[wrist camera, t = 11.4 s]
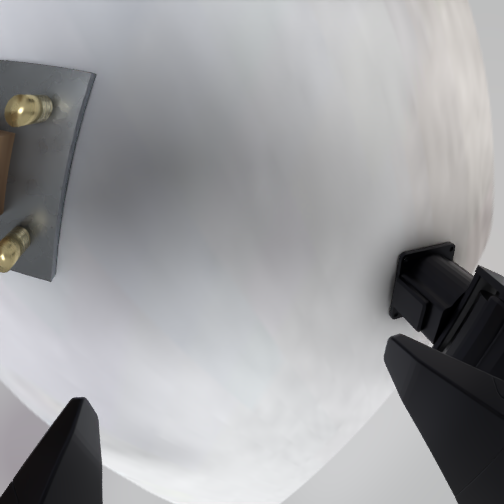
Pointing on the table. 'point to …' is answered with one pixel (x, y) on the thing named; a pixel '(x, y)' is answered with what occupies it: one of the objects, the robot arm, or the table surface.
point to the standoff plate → (38, 160)
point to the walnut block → (4, 162)
